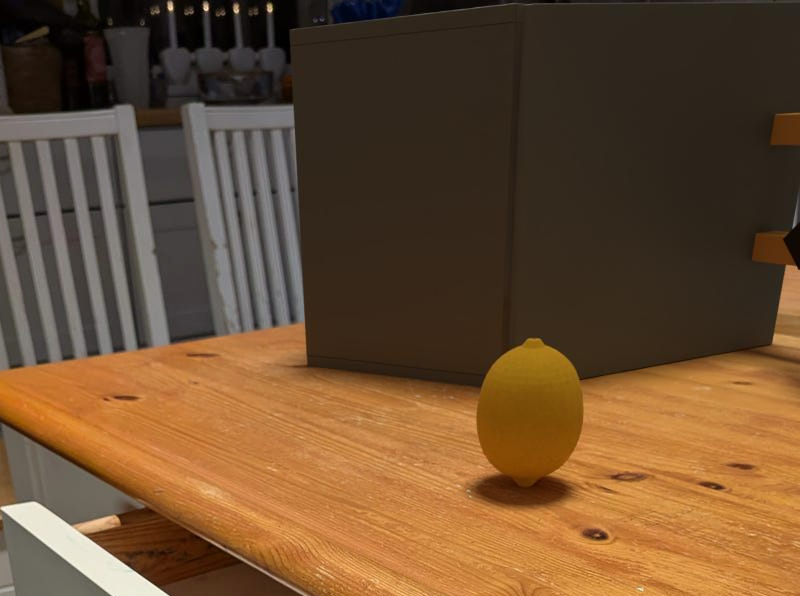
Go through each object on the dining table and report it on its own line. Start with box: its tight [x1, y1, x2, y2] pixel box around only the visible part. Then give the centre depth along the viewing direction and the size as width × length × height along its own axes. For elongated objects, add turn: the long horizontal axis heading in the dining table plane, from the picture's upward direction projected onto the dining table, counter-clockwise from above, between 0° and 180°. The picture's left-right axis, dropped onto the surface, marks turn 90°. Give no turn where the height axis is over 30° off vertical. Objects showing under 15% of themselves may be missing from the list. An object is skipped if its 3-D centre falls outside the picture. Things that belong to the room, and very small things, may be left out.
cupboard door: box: [507, 1, 800, 380], centre depth 66 cm, size 8×26×24 cm, turn 116°
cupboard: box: [289, 2, 529, 389], centre depth 79 cm, size 18×26×24 cm
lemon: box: [475, 338, 585, 489], centre depth 51 cm, size 6×6×8 cm
